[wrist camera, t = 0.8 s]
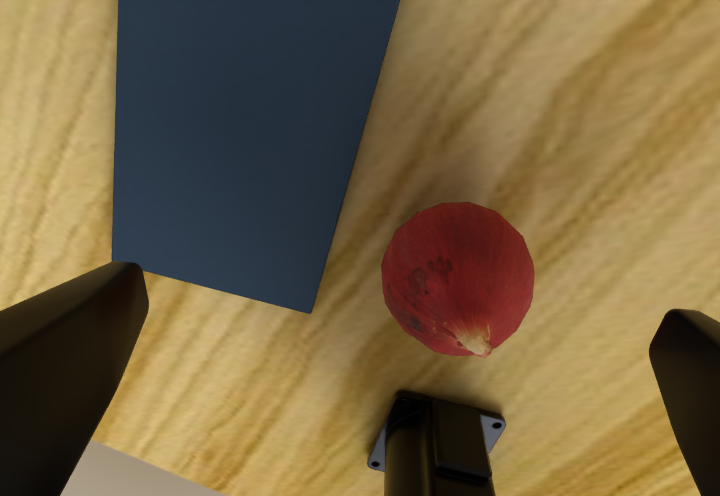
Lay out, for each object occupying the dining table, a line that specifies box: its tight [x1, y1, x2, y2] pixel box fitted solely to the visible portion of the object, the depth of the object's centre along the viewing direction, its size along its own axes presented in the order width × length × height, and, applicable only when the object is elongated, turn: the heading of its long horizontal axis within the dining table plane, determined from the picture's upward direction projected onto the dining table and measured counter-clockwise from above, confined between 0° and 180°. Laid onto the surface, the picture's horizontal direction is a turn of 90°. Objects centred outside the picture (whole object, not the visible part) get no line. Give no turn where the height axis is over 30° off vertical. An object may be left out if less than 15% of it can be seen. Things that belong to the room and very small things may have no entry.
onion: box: [381, 202, 534, 358], centre depth 19 cm, size 6×6×8 cm
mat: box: [112, 0, 400, 314], centre depth 20 cm, size 18×10×1 cm, turn 164°
